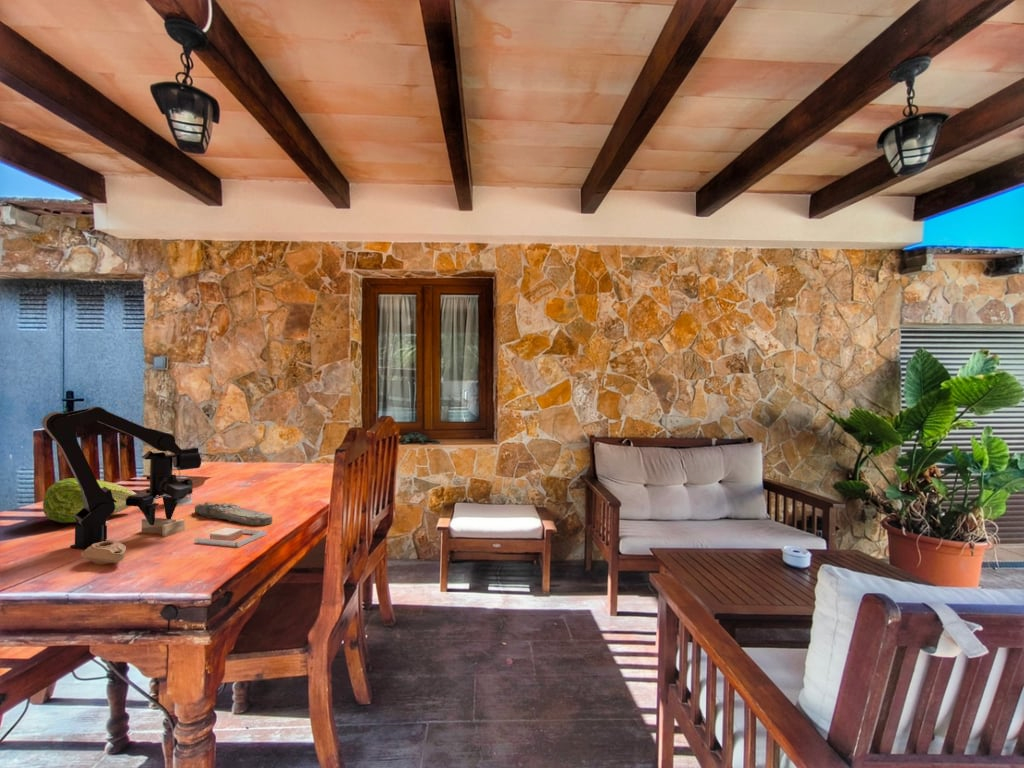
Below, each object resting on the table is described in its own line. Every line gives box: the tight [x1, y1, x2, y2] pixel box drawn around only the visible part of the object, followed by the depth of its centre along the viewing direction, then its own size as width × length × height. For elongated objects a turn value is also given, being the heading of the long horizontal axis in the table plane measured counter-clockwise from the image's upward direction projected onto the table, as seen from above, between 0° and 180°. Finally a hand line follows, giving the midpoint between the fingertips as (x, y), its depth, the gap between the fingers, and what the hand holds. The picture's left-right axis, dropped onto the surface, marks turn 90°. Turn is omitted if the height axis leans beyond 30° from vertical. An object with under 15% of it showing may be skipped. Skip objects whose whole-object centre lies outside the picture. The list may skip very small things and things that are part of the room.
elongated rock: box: [194, 501, 273, 526], centre depth 173 cm, size 35×5×10 cm
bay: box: [194, 526, 267, 548], centre depth 151 cm, size 12×14×1 cm
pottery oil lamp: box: [80, 539, 127, 566], centre depth 130 cm, size 9×12×7 cm
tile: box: [209, 527, 243, 541], centre depth 152 cm, size 6×6×2 cm
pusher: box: [141, 517, 186, 538], centre depth 156 cm, size 7×11×4 cm, turn 79°
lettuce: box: [42, 477, 137, 524], centre depth 169 cm, size 17×24×14 cm
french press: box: [162, 437, 194, 507], centre depth 190 cm, size 10×12×25 cm
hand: (160, 522), depth 156 cm, fingers open, 6 cm apart
